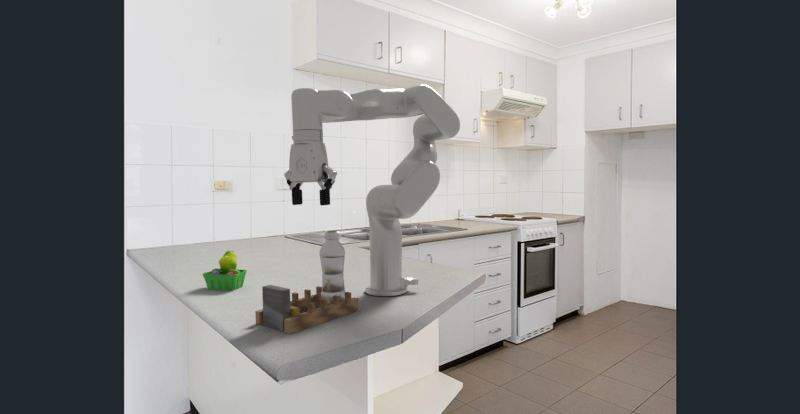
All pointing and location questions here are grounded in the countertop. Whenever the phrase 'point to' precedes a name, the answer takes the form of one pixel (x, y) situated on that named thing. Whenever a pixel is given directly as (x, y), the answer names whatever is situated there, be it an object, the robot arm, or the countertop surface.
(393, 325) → the countertop surface
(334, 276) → the grey bulging hollow cylinder
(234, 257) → the fruit basket
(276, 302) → the wooden peg rack
